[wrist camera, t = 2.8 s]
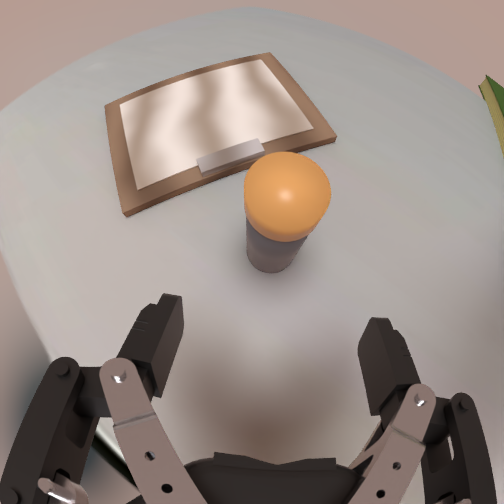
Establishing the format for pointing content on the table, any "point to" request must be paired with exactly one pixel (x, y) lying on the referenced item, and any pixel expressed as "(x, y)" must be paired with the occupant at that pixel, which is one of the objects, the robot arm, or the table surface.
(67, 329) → the table surface
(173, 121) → the clipboard
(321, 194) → the orange and grey cylinder
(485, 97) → the hardcover book
